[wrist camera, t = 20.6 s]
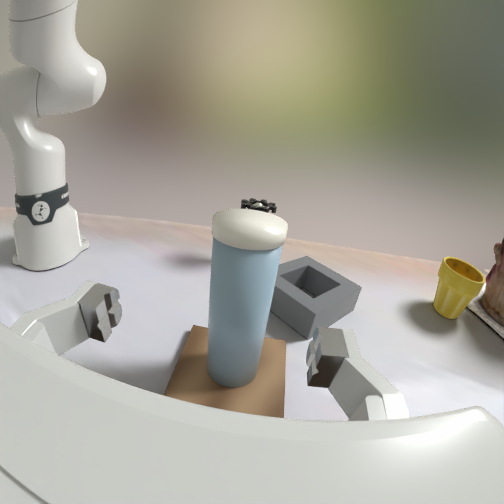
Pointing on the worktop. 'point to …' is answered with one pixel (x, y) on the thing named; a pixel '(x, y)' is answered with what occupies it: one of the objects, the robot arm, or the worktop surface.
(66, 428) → the robot arm
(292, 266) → the housing
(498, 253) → the cookie jar
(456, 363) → the worktop surface
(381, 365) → the worktop surface
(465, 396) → the worktop surface
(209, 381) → the board
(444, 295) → the plant pot
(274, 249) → the blue bottle
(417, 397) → the worktop surface
